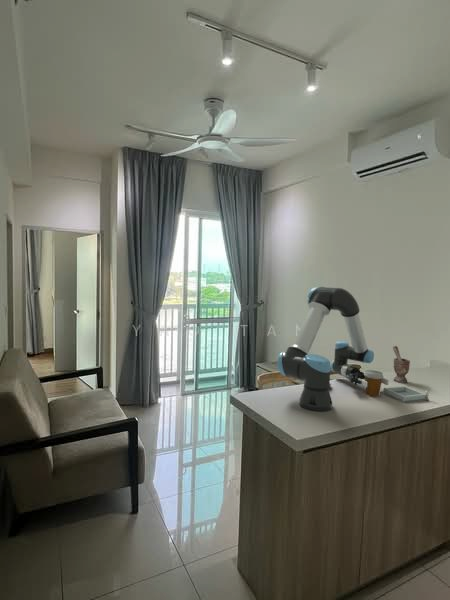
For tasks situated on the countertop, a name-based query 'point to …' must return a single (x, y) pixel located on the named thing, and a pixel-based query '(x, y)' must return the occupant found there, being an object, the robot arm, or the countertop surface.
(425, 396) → the tray
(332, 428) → the countertop surface
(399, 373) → the mortar and pestle
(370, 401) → the countertop surface
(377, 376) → the disposable coffee cup
